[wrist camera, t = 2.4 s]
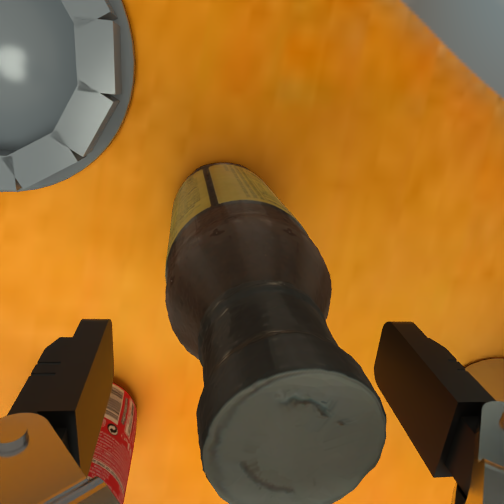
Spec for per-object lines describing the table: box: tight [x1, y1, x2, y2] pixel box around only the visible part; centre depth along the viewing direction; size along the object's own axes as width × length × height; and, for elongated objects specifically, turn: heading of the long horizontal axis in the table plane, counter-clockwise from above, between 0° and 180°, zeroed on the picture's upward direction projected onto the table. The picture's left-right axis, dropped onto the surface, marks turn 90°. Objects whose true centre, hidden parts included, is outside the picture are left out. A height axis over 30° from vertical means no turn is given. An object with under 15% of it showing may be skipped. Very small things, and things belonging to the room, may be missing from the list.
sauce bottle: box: [165, 163, 386, 504], centre depth 18 cm, size 6×6×20 cm
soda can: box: [87, 383, 137, 504], centre depth 26 cm, size 7×7×12 cm
